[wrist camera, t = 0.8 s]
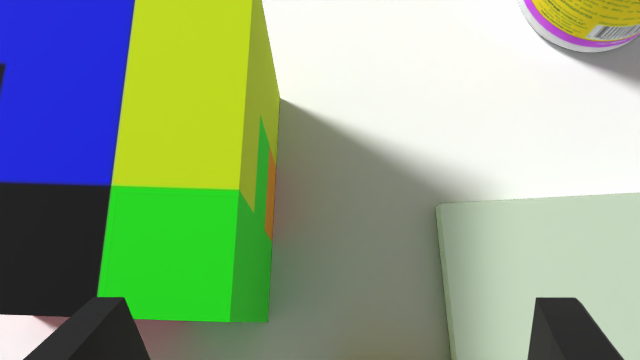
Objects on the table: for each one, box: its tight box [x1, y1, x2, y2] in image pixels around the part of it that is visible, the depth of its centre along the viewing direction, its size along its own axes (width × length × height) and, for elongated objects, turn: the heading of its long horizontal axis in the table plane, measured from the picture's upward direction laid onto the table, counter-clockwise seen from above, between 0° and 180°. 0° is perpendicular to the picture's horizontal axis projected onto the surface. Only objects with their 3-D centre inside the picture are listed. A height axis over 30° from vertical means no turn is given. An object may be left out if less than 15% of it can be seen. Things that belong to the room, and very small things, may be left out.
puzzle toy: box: [0, 0, 280, 322], centre depth 20 cm, size 10×10×10 cm
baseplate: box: [435, 193, 640, 360], centre depth 23 cm, size 10×10×1 cm
